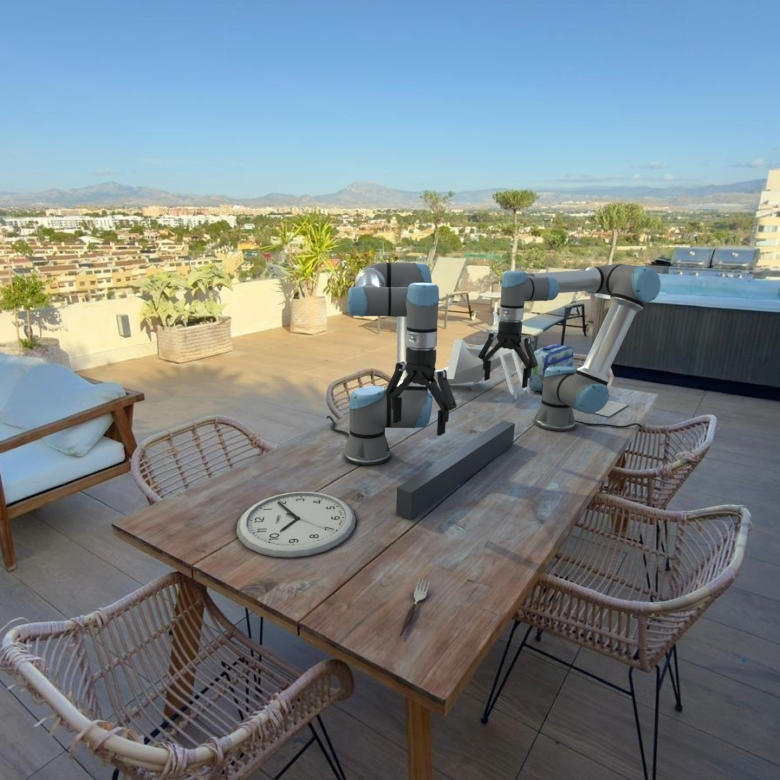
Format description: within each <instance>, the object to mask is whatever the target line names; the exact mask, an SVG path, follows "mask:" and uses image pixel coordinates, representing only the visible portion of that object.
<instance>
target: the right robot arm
mask: <svg viewBox="0 0 780 780" xmlns="http://www.w3.org/2000/svg"><path fill="white" fill-rule="evenodd" d="M661 283H662V282H661V279H660V274H659V273H658V271H656V269H654V268H652V267H650V266H645V265H634V264H624V263H614V264H613V263H612V264H607V265H598V266H590V267H587V268H586V269H583V270H564V271H563V270H562V271H545V272H530V273H527V272H526V271H520V270H506V271H504V273H502V278H501V283H500V287H501V288H500V301H499V302H500V303H499V314H498V316H499V318H500V321H499V325H498V328H497V333H496V332H495V331H492V332H489V333H488V336H487V340H486V341H485V343H484V344H485V345H484V347H483V349H482V350H481V352H480V354H479V355H478V358H480V359H482V360H483V370H485V375H484V377H483V381H485V382H486V381H489V380H490V378H491V372H490V369H491V361H490V360H489V359H490V358H491V357H492V356H493V355H494V354H495V353H496V352H497V351H498V350H499V349H500V348H504V349H506V348H507V349H510V350H512V349H514V351H515V352H516V353H517V355H518V358H519V360H520V361H521V362H522V364H523V366H524V368H523V369H522V371H523V380H522V386H521V389H522V388H525V387H528V385H529V378H530V377H531V371H532V368H535V367H537V366H538V363H537V360H536V357H535V354H534V352H535V351H534V349H533V346H532V338H531V337H530V336H527V337H522V333H523V332H522V331H523V321H522V320H524V309H525V303H526V302H549V301H553V300H555V299H556V298H557V297H558V295H559V294H564V293H565V294H566V293H579V292H581V293H582V292H586V293H587V294H589V295H593V294H598V295H605V296H609V300H610V306H609V309H608V312H607V313H606V314H605V318H604V319H603V321H602V324H601V326H600V328H599V331H598V333H597V334H596V337H595V339H594V341H593V343H592V346H591V347H590V350H589V352H588V354H587V357H586V359H585V361H584V363H583V365H582V366H581V367H579V368H576V367H573V366H572V367H565V366H556V367H549V368H547V369H546V370H545V374H544V381H543V391H542V392H541V393H542V394H541V402H540V405H539V407H538V410H537V411H536V413H535V415H534V424H535V425H536V426H537V427H539V428H542V429H544V430H549V431H556V432H567V431H572V430H574V429H575V428H576V423H577V424H582V425H585V426H600V427H601V426H604V427H611V428H619V429H620V428H622V429H625V428H628V427H629V428H630V427H632V426H638V427H639V428H643V426H642V425H641V424H640V423H637V422H634V423H630V424H626V425H618V424H617V425H616V424H610V423H609V424H608V423H591V422H584V421H580V420H577V419H576V418H575V417H576V416H575V413H574V409H575V410H576V411H578V412H580V413H584V414H587V415H593V414H596V413H595V412H597V411H600V410H601V409H602V408H603V407H604V406H605V405H606V403H607V401H608V400H609V399H610V390H609V388H608V387H607V386H608V384H609V378H608V374H609V371H610V369H611V367H612V365H613V363H614V360H615V358H616V357H617V354H618V352H619V350H620V348H621V346H622V344H623V341H624V339H625V337H626V335H627V333H628V331H629V329H630V326H631V324H632V322H633V320H634V318H635V316H636V314H637V313H638V312H640V311H642V310H644V307H645V305H646V304H647V303H648V304H649V303H650V302H652V301H653V300H656V298H657V297H658V296H659V293H660V291H661V286H662V284H661ZM495 340H496V341H498V342H497V343H496V344H495V345H494V346H493V348H492V350H491V351H490V352H489V353H488V354H487V355H486V353H487V351H488V349H489V348H490V347H491V346H492V344H493V342H494V341H495ZM521 342H522V344H523V346H524V349H525V351H524V349H523V347H522V345H521ZM525 352H526V353H525ZM485 355H486V356H485ZM488 360H489V361H488Z"/></svg>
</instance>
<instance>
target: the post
mask: <svg viewBox="0 0 780 780" xmlns="http://www.w3.org/2000/svg"><path fill="white" fill-rule="evenodd" d="M515 427H516V423H515V422H511V421H506V420H502V421H500V422H498V423H496V424H495V425H493V426H492V427H490V428H489V429H486V430H485V431H484V432H482V433H481V434H479V435H478V436H476V437H474V438H473V439H471V440H469V441H468V442H466V443H465V444H463V445H462V446H460V447H458V448H457V449H455V450H453V451H452V452H451V453H448V455H446V456H444V457H443V458H441V459H439V460H438V461H436V462H434V463H433V464H432V465H430V466H428V467H427V468H424V470H422V471H420V472H419V473H417V474H416V475H414V476H412V477H411V478H409V479H407V480H406V481H405V482H403V483H402V484H400V485H398V486H397V487H396V501H395V503H396V504H395V506H396V509H395V510H396V511H395V514H396V515H398V516H400V517H402V518H405V519H407V520H410V521H411V520H413V519H414V518H415V517H416V516H417V515H419V514H420V513H422V512H423V511H425V510H426V509H427V508H428V507H431V505H433V504H434V503H436V502H437V501H438V500H440V499H441V498H442V497H444V496H445V495H446V494H447V493H449V492H451V491H452V490H453V489H455V488H456V487H457V486H459V485H460V484H462V483H463V482H464V481H465V480H467V479H468V478H469V477H471V476H472V475H474V474H475V473H477V471H479V470H480V469H482V468H483V467H485V466H486V465H487V464H488V463H490V462H491V461H492V460H494V459H495V458H496V457H498V456H500V455H501V454H503V452H505V451H506V450H507V449H509V448H511V446H513V445H514V440H515V429H516V428H515Z"/></svg>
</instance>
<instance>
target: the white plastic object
mask: <svg viewBox="0 0 780 780" xmlns="http://www.w3.org/2000/svg"><path fill="white" fill-rule="evenodd" d="M492 315H493V319H494V321H495V324H496V325H495V326H496V328H497V329H498V325H499V321H500V320H501V319H500V318H499V314H498V312H497V311H496V310H495V311H492ZM484 345H485V343H483V344H479V345H473V346H469V345H468V343H466V342H465V340H464V339H463V338H460V339H458V338H454V340H453V344H452V349H451V353H450V357H449V362H448V366H446V367H444V368H442V369H440V371H441V370H444V369H445V370H446V371H447V380H448V383H449V386H450V385H458V384H467V383H468V384H469V383H473V384H477V383H480V382H482V381H484V375H485V370H483V360H482V359H480V358H478V355H479V354H480V352H481V350H482V349H483V347H484ZM492 349H493V348H492V347H491V346H490V348H489V349H488V351H487V353H486V355H487V354H488V353H489V352H490V351H491V350H492ZM486 355H485V356H486ZM489 360H490V361H491V369H490V373H492V372H494V371H495V370H496V369H497V368H499V367H500V366H502V370H503V373H504V376H505V380H506V383H507V386H508V390H509V393H510V394H511V395H512V397H513V398H514V399H515V400H517V392H516V391H517V390H516V388H515V385H514V381H513V378H512V375H511V371H510V369H509V365H508V361H510V360H513V363H514V366H515V369H516V372H517V376H518V380H519V382H520V385H521V389H522V391H523V393H524V395H525V396H526V397H528V396H531V395H530V389H529V388H528V387H529V386H527V387H525V388H522V380H523V369H522V368H523V367H522V366H521V362H520V358H519V356H518V354H517V353H516V352H515V351H514V349H512V350H510V349H507V348H506V349H504V348H502V347H501V348H500V349H499V350H498V351H497V352H496V353H495V354H494V355H493V356H492V357H491V358H490V359H489ZM489 360H488V361H489Z"/></svg>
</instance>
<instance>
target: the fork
mask: <svg viewBox="0 0 780 780" xmlns="http://www.w3.org/2000/svg"><path fill="white" fill-rule="evenodd" d="M420 580H421V577H419V578H418V581H417V585H416V587H415V590H414V592H413V598H414V600H415V601H414V603H413V604H412V606H411V607H410V609H409V611H408V612H407V613H406V616H405V619H404V622H403V624H402V625H403V626H402V628H401V631H400V634H399V636H400V637H402V635H403V634H404V632H405V631H406V629H407V627H408V626H409V624H410V622H411V621H412V619H413V617H414V614H415V610H416V607H417V604H418V602H420V601H423V600H425V599H426V598H427V596H428V591H429V586H430V582H431V581H430V580H431V579H428V583H427V578H426V579H425V580H424V578H422V580H421V583H420ZM423 582H424V584H423ZM426 583H427V586H426ZM419 584H420V585H419ZM422 587H423V588H422Z"/></svg>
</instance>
